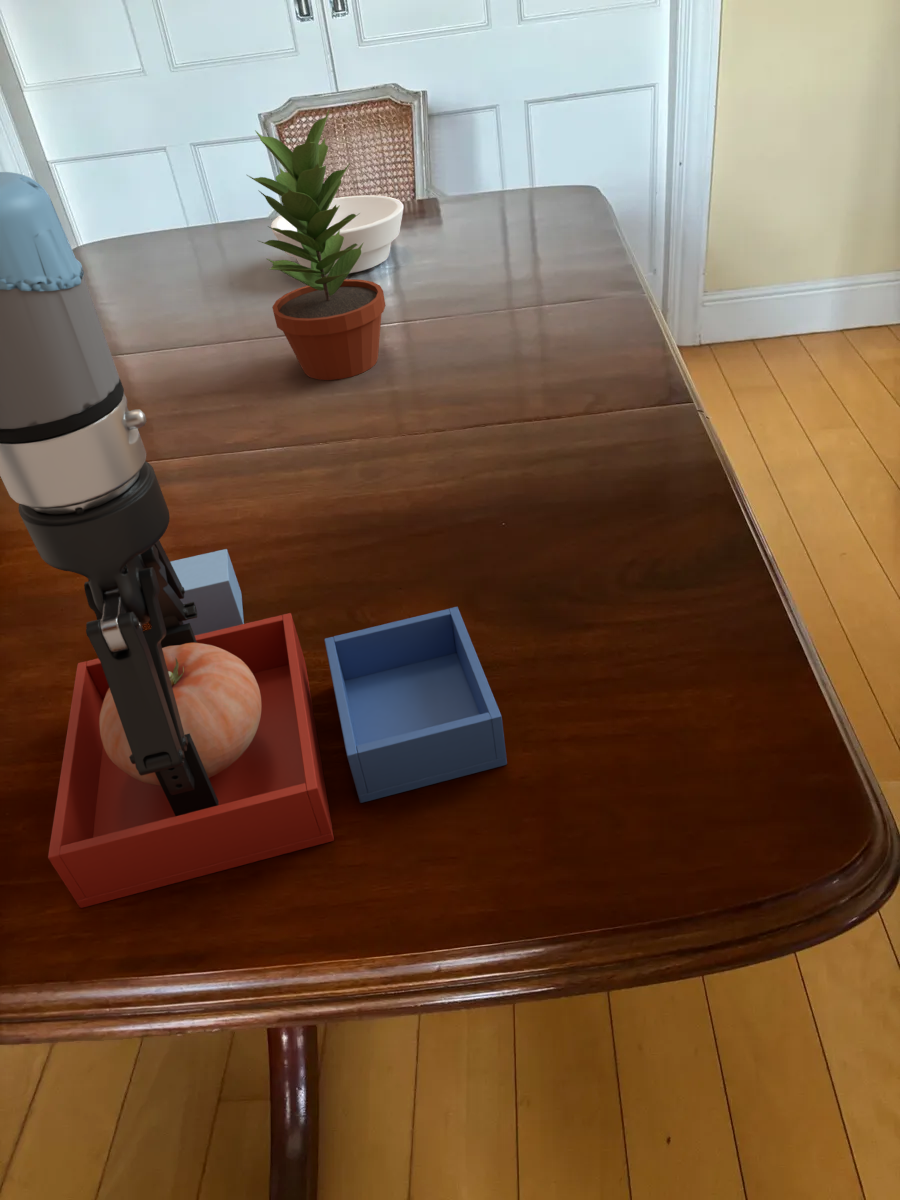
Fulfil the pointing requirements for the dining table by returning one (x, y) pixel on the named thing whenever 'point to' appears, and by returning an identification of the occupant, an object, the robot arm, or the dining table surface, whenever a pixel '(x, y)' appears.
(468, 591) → the dining table surface
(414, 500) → the dining table surface
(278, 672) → the red bin
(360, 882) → the dining table surface
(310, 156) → the potted plant
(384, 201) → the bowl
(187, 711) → the tomato
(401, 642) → the blue bin
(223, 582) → the blue block
